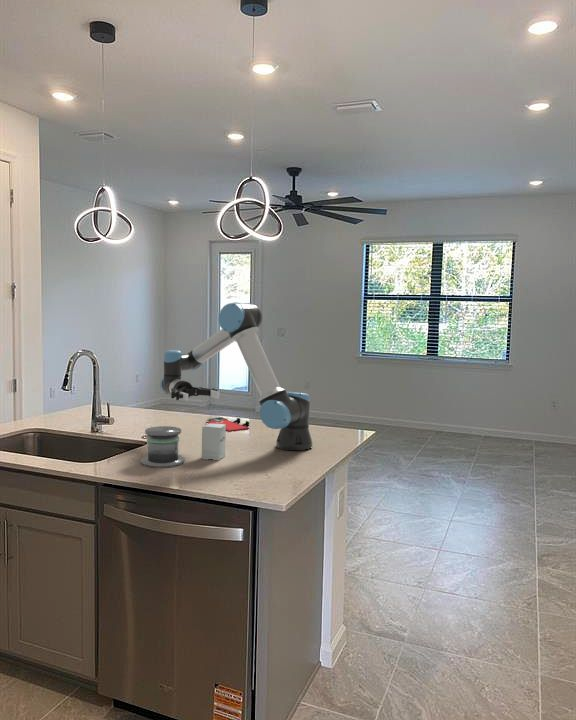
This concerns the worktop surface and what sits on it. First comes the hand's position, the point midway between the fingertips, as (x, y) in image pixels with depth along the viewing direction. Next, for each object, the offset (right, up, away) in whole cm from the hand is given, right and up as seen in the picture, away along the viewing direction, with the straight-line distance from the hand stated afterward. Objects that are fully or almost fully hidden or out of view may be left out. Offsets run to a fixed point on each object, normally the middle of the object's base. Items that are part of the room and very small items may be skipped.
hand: (203, 396), depth 231 cm
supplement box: (+5, -23, -6) cm, 24 cm away
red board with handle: (+3, -18, +58) cm, 60 cm away
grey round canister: (-13, -23, -14) cm, 30 cm away
